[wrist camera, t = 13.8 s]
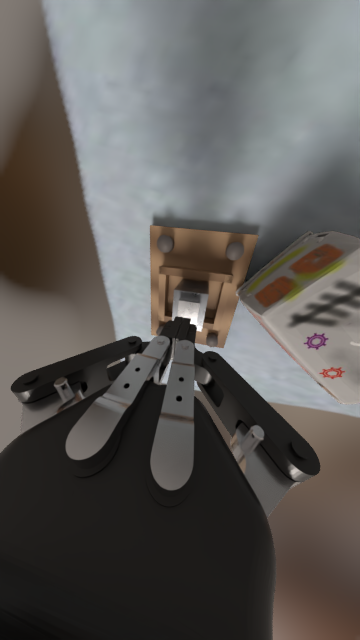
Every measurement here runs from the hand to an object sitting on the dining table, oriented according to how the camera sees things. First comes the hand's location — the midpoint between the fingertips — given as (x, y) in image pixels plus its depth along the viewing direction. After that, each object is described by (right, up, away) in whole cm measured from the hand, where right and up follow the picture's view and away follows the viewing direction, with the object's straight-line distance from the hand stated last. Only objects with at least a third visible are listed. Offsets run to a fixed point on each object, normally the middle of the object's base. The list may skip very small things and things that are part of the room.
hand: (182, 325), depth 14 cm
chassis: (+2, +5, +10) cm, 11 cm away
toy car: (+20, +1, +8) cm, 22 cm away
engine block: (+2, +4, +8) cm, 10 cm away
